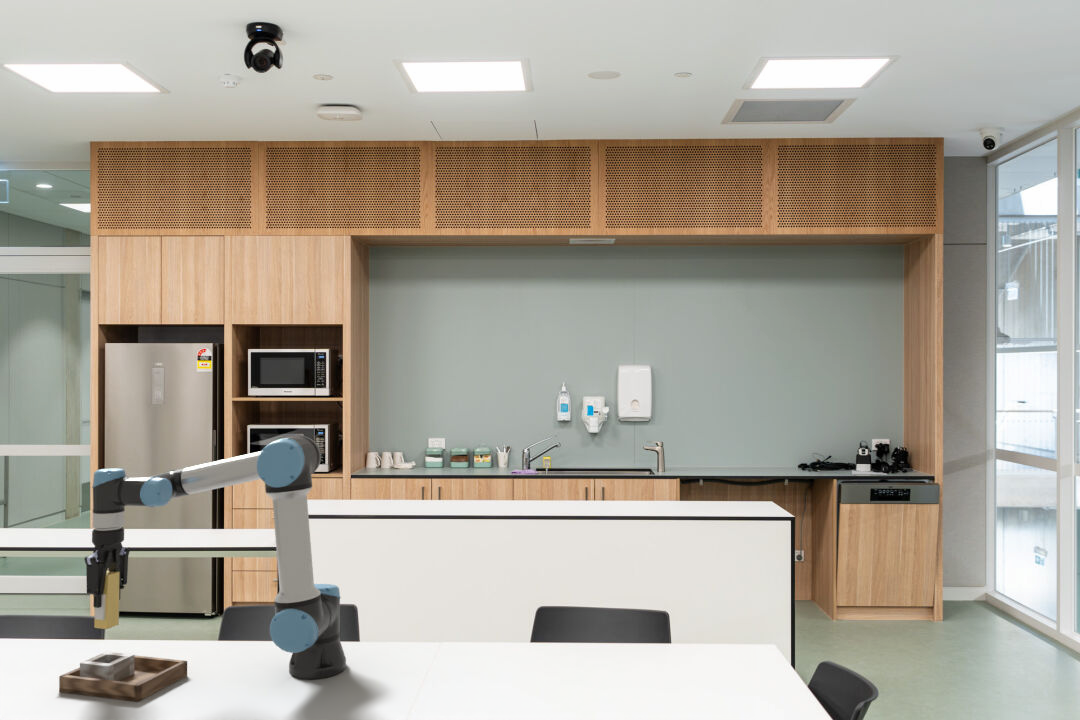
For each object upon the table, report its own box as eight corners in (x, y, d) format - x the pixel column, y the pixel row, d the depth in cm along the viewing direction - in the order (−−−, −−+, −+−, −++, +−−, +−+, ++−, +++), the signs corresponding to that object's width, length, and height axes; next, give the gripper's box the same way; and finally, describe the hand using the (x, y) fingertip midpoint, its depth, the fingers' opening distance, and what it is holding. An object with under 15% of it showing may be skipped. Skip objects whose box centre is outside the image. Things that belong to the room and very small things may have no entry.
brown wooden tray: (187, 675, 222) (187, 653, 222) (138, 701, 204) (138, 677, 204) (112, 667, 228) (113, 645, 228) (59, 692, 210) (59, 668, 211)
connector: (118, 624, 219) (119, 571, 219) (107, 629, 215) (107, 575, 215) (106, 623, 220) (106, 570, 220) (94, 627, 216) (95, 574, 216)
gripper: (120, 521, 227) (119, 606, 227) (70, 532, 211) (68, 624, 210) (143, 522, 225) (142, 608, 225) (94, 534, 209) (93, 627, 208)
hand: (106, 616), depth 218 cm, fingers closed on connector, 4 cm apart
